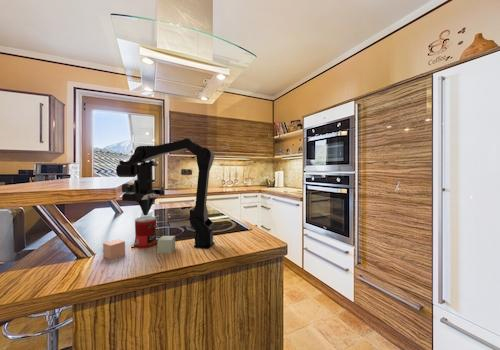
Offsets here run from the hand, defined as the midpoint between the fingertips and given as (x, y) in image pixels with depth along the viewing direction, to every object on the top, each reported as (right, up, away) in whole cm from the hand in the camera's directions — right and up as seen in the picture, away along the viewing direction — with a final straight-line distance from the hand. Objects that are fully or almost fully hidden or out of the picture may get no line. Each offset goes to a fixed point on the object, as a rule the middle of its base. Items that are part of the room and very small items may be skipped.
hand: (145, 215), depth 89 cm
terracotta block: (-6, -13, -10) cm, 18 cm away
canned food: (0, -13, 0) cm, 13 cm away
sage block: (+11, -13, -6) cm, 18 cm away
